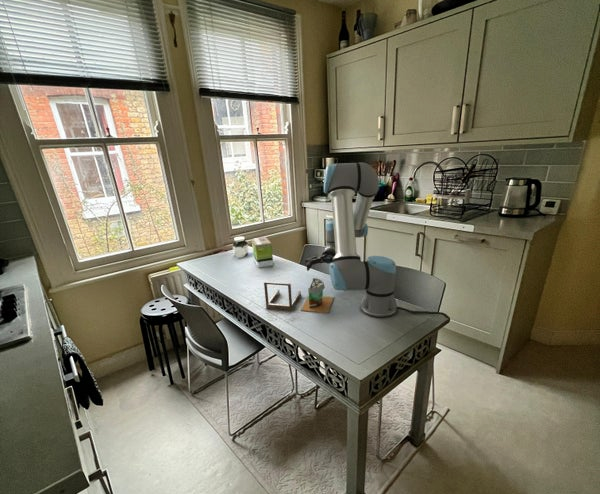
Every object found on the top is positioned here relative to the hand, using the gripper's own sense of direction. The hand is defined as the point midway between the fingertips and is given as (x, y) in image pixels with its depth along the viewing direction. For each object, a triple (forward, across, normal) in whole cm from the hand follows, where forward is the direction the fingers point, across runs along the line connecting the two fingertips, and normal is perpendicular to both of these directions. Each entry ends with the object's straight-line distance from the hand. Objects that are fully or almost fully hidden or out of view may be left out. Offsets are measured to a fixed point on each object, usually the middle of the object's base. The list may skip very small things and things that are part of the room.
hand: (321, 268), depth 147 cm
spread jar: (-52, +67, -13) cm, 86 cm away
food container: (+9, 0, -14) cm, 17 cm away
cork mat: (+10, 0, -14) cm, 17 cm away
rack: (+10, +16, -14) cm, 23 cm away
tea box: (-40, +46, -14) cm, 62 cm away
